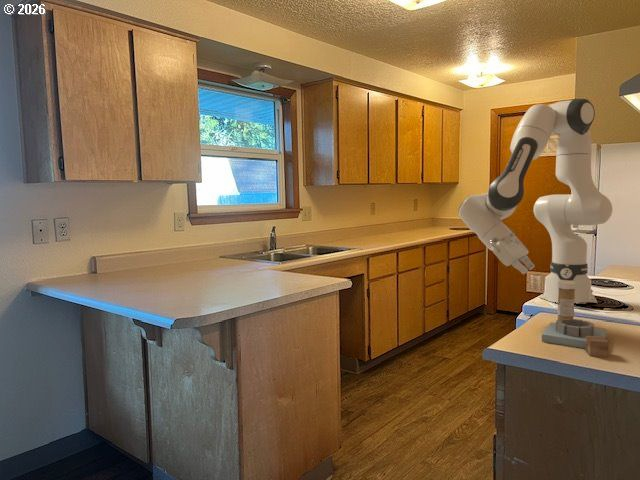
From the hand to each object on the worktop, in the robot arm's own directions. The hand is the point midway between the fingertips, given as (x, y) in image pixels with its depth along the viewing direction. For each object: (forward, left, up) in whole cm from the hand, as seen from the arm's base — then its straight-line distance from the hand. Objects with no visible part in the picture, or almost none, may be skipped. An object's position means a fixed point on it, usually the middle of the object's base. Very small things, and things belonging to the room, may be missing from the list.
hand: (529, 270), depth 145 cm
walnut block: (+23, +20, -16) cm, 35 cm away
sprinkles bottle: (0, +10, -16) cm, 19 cm away
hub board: (+13, +14, -16) cm, 25 cm away
